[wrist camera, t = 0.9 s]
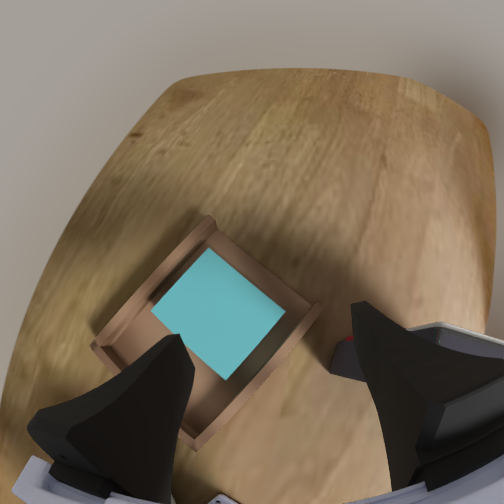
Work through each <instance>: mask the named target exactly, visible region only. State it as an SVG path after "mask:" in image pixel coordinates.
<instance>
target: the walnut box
mask: <svg viewBox="0 0 504 504" xmlns="http://www.w3.org/2000/svg"><path fill="white" fill-rule="evenodd" d="M208 248H210V249H211V250H212V251H213V252H215V253H216V254H217V255H218V256H219V257H220V258H222V259H223V260H224V261H225V262H226V263H228V264H229V265H230V266H231V267H232V268H234V269H235V270H236V271H237V272H238V273H240V274H241V275H242V276H243V277H244V278H246V279H247V280H248V281H249V282H250V283H252V284H253V285H254V286H255V287H256V288H258V289H259V290H260V291H261V292H262V293H264V294H265V295H266V296H267V297H269V298H270V299H271V300H272V301H273V302H275V303H276V304H277V305H278V306H280V307H281V308H282V309H283V310H284V311H286V312H285V313H284V314H283V315H282V316H281V318H280V319H279V320H278V321H277V322H276V324H275V325H274V326H273V327H272V328H271V330H270V331H269V332H268V333H267V334H266V335H265V337H264V338H263V339H262V340H261V341H260V342H259V344H258V345H257V346H256V347H255V348H254V349H253V351H252V352H251V353H250V354H249V355H248V356H247V357H246V358H245V360H244V361H243V362H242V363H241V364H240V365H239V366H238V367H237V369H236V370H235V371H234V372H233V373H232V374H231V375H230V376H229V377H228V378H227V380H225V379H224V378H222V377H221V376H220V375H219V374H218V373H216V372H215V371H214V370H213V369H212V368H211V367H210V366H208V365H207V364H206V363H205V362H204V361H203V360H202V359H200V358H199V357H198V356H197V355H196V354H195V353H194V352H193V351H192V350H191V349H189V348H188V347H187V346H186V345H185V344H184V345H185V347H186V349H187V351H188V353H189V355H190V358H191V360H192V362H193V364H194V366H195V368H196V369H195V376H194V382H193V388H192V391H191V394H190V398H189V401H188V404H187V407H186V410H185V413H184V416H183V419H182V422H181V425H180V429H179V433H178V438H179V439H181V440H182V441H183V442H184V443H185V444H187V445H188V446H189V447H190V448H192V449H193V450H194V451H195V452H197V451H198V450H199V449H200V448H201V447H202V446H203V445H204V444H205V443H206V442H207V441H208V440H209V439H210V438H211V437H212V436H213V435H214V434H215V433H216V432H217V431H218V430H219V429H220V428H221V427H222V426H223V425H224V424H225V423H226V422H227V421H228V420H229V419H230V418H231V417H232V416H233V415H234V414H235V413H236V412H237V411H238V410H239V409H240V408H241V407H242V406H243V404H244V403H245V402H246V401H247V400H248V399H249V398H250V397H251V396H252V395H253V394H254V393H255V391H256V390H257V389H258V388H259V387H260V386H261V385H262V384H263V383H264V381H265V380H266V379H267V378H268V377H269V376H270V375H271V373H272V372H273V371H274V370H275V369H276V368H277V366H278V365H279V364H280V363H281V362H282V361H283V359H284V358H285V357H286V356H287V355H288V353H289V352H290V351H291V350H292V349H293V347H294V346H295V345H296V344H297V343H298V341H299V340H300V339H301V338H302V336H303V335H304V334H305V333H306V331H307V330H308V329H309V328H310V326H311V325H312V324H313V322H314V321H315V320H316V319H317V317H318V316H319V315H320V313H321V312H322V311H323V309H324V307H323V306H322V305H320V304H319V303H318V302H316V303H315V304H313V305H310V304H309V303H308V302H307V301H305V300H304V299H303V298H302V297H300V296H299V295H298V294H297V293H296V292H294V291H293V290H292V289H291V288H289V287H288V286H287V285H286V284H284V283H283V282H282V281H281V280H279V279H278V278H277V277H276V276H275V275H273V274H272V273H271V272H270V271H268V270H267V269H266V268H265V267H263V266H262V265H261V264H260V263H258V262H257V261H256V260H255V259H254V258H252V257H251V256H250V255H249V254H247V253H246V252H245V251H244V250H242V249H241V248H240V247H239V246H238V245H236V244H235V243H234V242H233V241H231V240H230V239H229V238H228V237H226V236H225V235H224V234H223V233H222V232H220V231H219V230H218V229H217V226H216V221H215V219H213V218H212V217H211V216H210V215H208V216H207V217H206V218H205V219H204V220H203V221H202V222H201V223H200V224H199V225H198V226H197V227H196V228H195V229H194V230H193V231H192V232H191V233H190V234H189V235H188V236H187V237H186V238H185V239H184V240H183V241H182V242H181V243H180V244H179V245H178V246H177V247H176V248H175V249H174V250H173V252H172V253H171V254H170V255H169V256H168V257H167V258H166V259H165V260H164V261H163V262H162V263H161V264H160V265H159V266H158V268H157V269H156V270H155V271H154V272H153V273H152V274H151V275H150V276H149V277H148V278H147V280H146V281H145V282H144V283H143V284H142V285H141V286H140V287H139V288H138V289H137V291H136V292H135V293H134V294H133V295H132V296H131V297H130V298H129V300H128V301H127V302H126V303H125V304H124V305H123V306H122V308H121V309H120V310H119V311H118V312H117V313H116V314H115V316H114V317H113V318H112V319H111V320H110V321H109V323H108V324H107V325H106V326H105V327H104V328H103V330H102V331H101V332H100V333H99V334H98V336H97V337H96V338H95V339H94V340H93V342H92V343H91V344H90V345H89V346H90V348H91V349H92V350H93V351H94V353H95V354H96V355H97V356H98V357H99V359H100V360H101V361H102V362H103V363H104V365H105V366H106V367H107V368H108V369H109V370H110V371H111V373H112V374H113V375H114V376H116V375H117V374H119V373H120V372H121V371H123V370H124V369H125V368H127V367H128V366H129V365H131V364H132V363H133V362H134V361H136V360H137V359H138V358H139V357H140V356H142V355H143V354H144V353H145V352H146V351H147V350H149V349H150V348H151V347H152V346H153V345H155V344H156V343H157V342H158V341H160V340H161V339H162V338H163V337H165V336H166V335H170V334H173V333H172V332H171V331H170V330H169V329H168V328H167V327H166V326H165V325H164V324H163V323H162V322H161V321H160V320H159V319H158V318H157V317H156V316H155V315H154V314H153V313H152V312H151V310H152V309H153V307H154V306H155V305H156V304H157V303H158V302H159V301H160V300H161V299H162V297H163V296H164V295H165V294H166V293H167V292H168V291H169V290H170V289H171V288H172V286H173V285H174V284H175V283H176V282H177V281H178V280H179V279H180V278H181V277H182V276H183V274H184V273H185V272H186V271H187V270H188V269H189V268H190V267H191V266H192V265H193V264H194V263H195V262H196V260H197V259H198V258H199V257H200V256H201V255H202V254H203V253H204V252H205V251H206V250H207V249H208Z"/></svg>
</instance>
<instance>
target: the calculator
mask: <svg viewBox="0 0 504 504" xmlns="http://www.w3.org/2000/svg"><path fill="white" fill-rule="evenodd" d="M405 329H406V328H405ZM406 330H408V331H410V332H412V333H413V334H415V335H417V336H419V337H421V338H423V339H426V340H428V341H430V342H432V343H435V344H437V345H440V346H443V347H446V348H449V349H452V350H455V351H459V352H463V353H467V354H472V355H476V356H483V357H492V358H502V359H504V341H503V340H500V339H496V338H493V337H490V336H487V335H484V334H480V333H477V332H474V331H471V330H468V329H465V328H461V327H458V326H455V325H452V324H449V323H445V322H435V323H431V324H426V325H422V326H417V327H412V328H407V329H406ZM329 373H330V374H334V375H338V376H342V377H346V378H350V379H354V380H358V381H362V382H366V380H365V378H364V375H363V372H362V370H361V367H360V365H359V362H358V358H357V354H356V350H355V347H354V339H353V336H348V337H346V340H345V341H341V342H338V344H337V348H336V351H335V354H334V357H333V360H332V364H331V367H330V370H329Z"/></svg>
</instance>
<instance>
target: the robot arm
mask: <svg viewBox="0 0 504 504" xmlns="http://www.w3.org/2000/svg"><path fill="white" fill-rule="evenodd" d="M351 314H352V326H353V339H354V347H355V350H356V354H357V358H358V362H359V365H360V367H361V370H362V372H363V375H364V378H365V380H366V383H367V385H368V388H369V390H370V393H371V395H372V398H373V400H374V403H375V406H376V409H377V412H378V416H379V420H380V424H381V428H382V433H383V438H384V443H385V448H386V453H387V459H388V465H389V471H390V479H391V487H392V492H390V493H387V494H383V495H379V496H375V497H371V498H367V499H363V500H359V501H354V502H349V503H344V504H504V359H502V358H492V357H483V356H476V355H472V354H467V353H463V352H459V351H455V350H452V349H449V348H446V347H443V346H440V345H437V344H435V343H432V342H430V341H428V340H426V339H423V338H421V337H419V336H417V335H415V334H413V333H412V332H410V331H408V330H406V329H405V328H403V327H401V326H400V325H398V324H397V323H395V322H394V321H392V320H391V319H389V318H388V317H386V316H385V315H384V314H382V313H381V312H380V311H378V310H377V309H376V308H374V307H373V306H372V305H370V304H369V303H368V302H366V301H362V302H358V303H354V304H351ZM195 369H196V368H195V366H194V364H193V362H192V360H191V358H190V355H189V353H188V351H187V349H186V347H185V345H184V342H183V340H182V338H181V336H180V333H179V334H170V335H166V336H165V337H163V338H162V339H161V340H160V341H158V342H157V343H156V344H155V345H153V346H152V347H151V348H150V349H149V350H147V351H146V352H145V353H144V354H143V355H142V356H140V357H139V358H138V359H137V360H136V361H134V362H133V363H132V364H131V365H129V366H128V367H127V368H125V369H124V370H123V371H121V372H120V373H119V374H117V375H116V376H115V377H113V378H112V379H110V380H109V381H107V382H105V383H104V384H102V385H101V386H99V387H97V388H95V389H93V390H91V391H89V392H87V393H85V394H84V395H81V396H79V397H77V398H75V399H72V400H70V401H67V402H64V403H61V404H58V405H55V406H51V407H47V408H44V409H40V410H39V411H38V412H37V413H36V414H35V415H34V417H33V418H32V420H31V421H30V422H29V424H28V425H27V430H28V432H29V434H30V436H31V437H32V438H33V440H34V441H35V442H36V443H37V444H38V445H39V446H40V447H41V448H42V449H43V450H44V451H45V452H46V453H47V454H48V455H49V456H50V457H51V458H52V459H53V460H55V461H54V463H53V465H51V464H50V463H48V462H46V461H45V460H42V459H40V458H38V457H36V456H34V455H32V456H31V458H30V459H29V461H28V463H27V464H26V466H25V468H24V469H23V471H22V473H21V474H20V476H19V478H18V479H17V481H16V483H15V485H14V486H13V488H12V490H11V491H12V493H13V494H15V495H16V496H17V497H19V498H20V499H21V500H23V501H24V502H25V503H27V504H171V485H172V471H173V462H174V455H175V448H176V443H177V437H178V433H179V429H180V425H181V422H182V419H183V416H184V413H185V410H186V407H187V404H188V401H189V398H190V394H191V391H192V388H193V382H194V376H195ZM216 501H220V503H217V502H216ZM207 504H238V503H237V502H235V501H233V500H232V499H230V498H228V497H227V496H225V495H223V494H219V495H217V496H216V497H215V498H213V499H212V500H211V501H210V502H208V503H207Z"/></svg>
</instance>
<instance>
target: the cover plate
mask: <svg viewBox="0 0 504 504" xmlns="http://www.w3.org/2000/svg"><path fill="white" fill-rule="evenodd" d="M151 312H152V313H153V314H154V315H155V316H156V317H157V318H158V319H159V320H160V321H161V322H162V323H163V324H164V325H165V326H166V327H167V328H168V329H169V330H170V331H171V332H172V333H173V334H179V333H180V336H181V338H182V340H183V342H184V344H185V345H186V346H187V347H188V348H189V349H191V350H192V351H193V352H194V353H195V354H196V355H197V356H198V357H199V358H200V359H202V360H203V361H204V362H205V363H206V364H207V365H208V366H210V367H211V368H212V369H213V370H214V371H215V372H216V373H218V374H219V375H220V376H221V377H222V378H224V379H225V380H227V378H228V377H229V376H230V375H231V374H232V373H233V372H234V371H235V370H236V369H237V367H238V366H239V365H240V364H241V363H242V362H243V361H244V360H245V358H246V357H247V356H248V355H249V354H250V353H251V352H252V351H253V349H254V348H255V347H256V346H257V345H258V344H259V342H260V341H261V340H262V339H263V338H264V337H265V335H266V334H267V333H268V332H269V331H270V330H271V328H272V327H273V326H274V325H275V324H276V322H277V321H278V320H279V319H280V318H281V316H282V315H283V314H284V313H285V312H286V311H284V310H283V309H282V308H281V307H280V306H278V305H277V304H276V303H275V302H273V301H272V300H271V299H270V298H269V297H267V296H266V295H265V294H264V293H262V292H261V291H260V290H259V289H258V288H256V287H255V286H254V285H253V284H252V283H250V282H249V281H248V280H247V279H246V278H244V277H243V276H242V275H241V274H240V273H238V272H237V271H236V270H235V269H234V268H232V267H231V266H230V265H229V264H228V263H226V262H225V261H224V260H223V259H222V258H220V257H219V256H218V255H217V254H216V253H215V252H213V251H212V250H211V249H210V248H208V249H207V250H206V251H205V252H204V253H203V254H202V255H201V256H200V257H199V258H198V259H197V260H196V262H195V263H194V264H193V265H192V266H191V267H190V268H189V269H188V270H187V271H186V272H185V273H184V274H183V276H182V277H181V278H180V279H179V280H178V281H177V282H176V283H175V284H174V285H173V286H172V288H171V289H170V290H169V291H168V292H167V293H166V294H165V295H164V296H163V297H162V299H161V300H160V301H159V302H158V303H157V304H156V305H155V306H154V307H153V309H152V310H151Z"/></svg>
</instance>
